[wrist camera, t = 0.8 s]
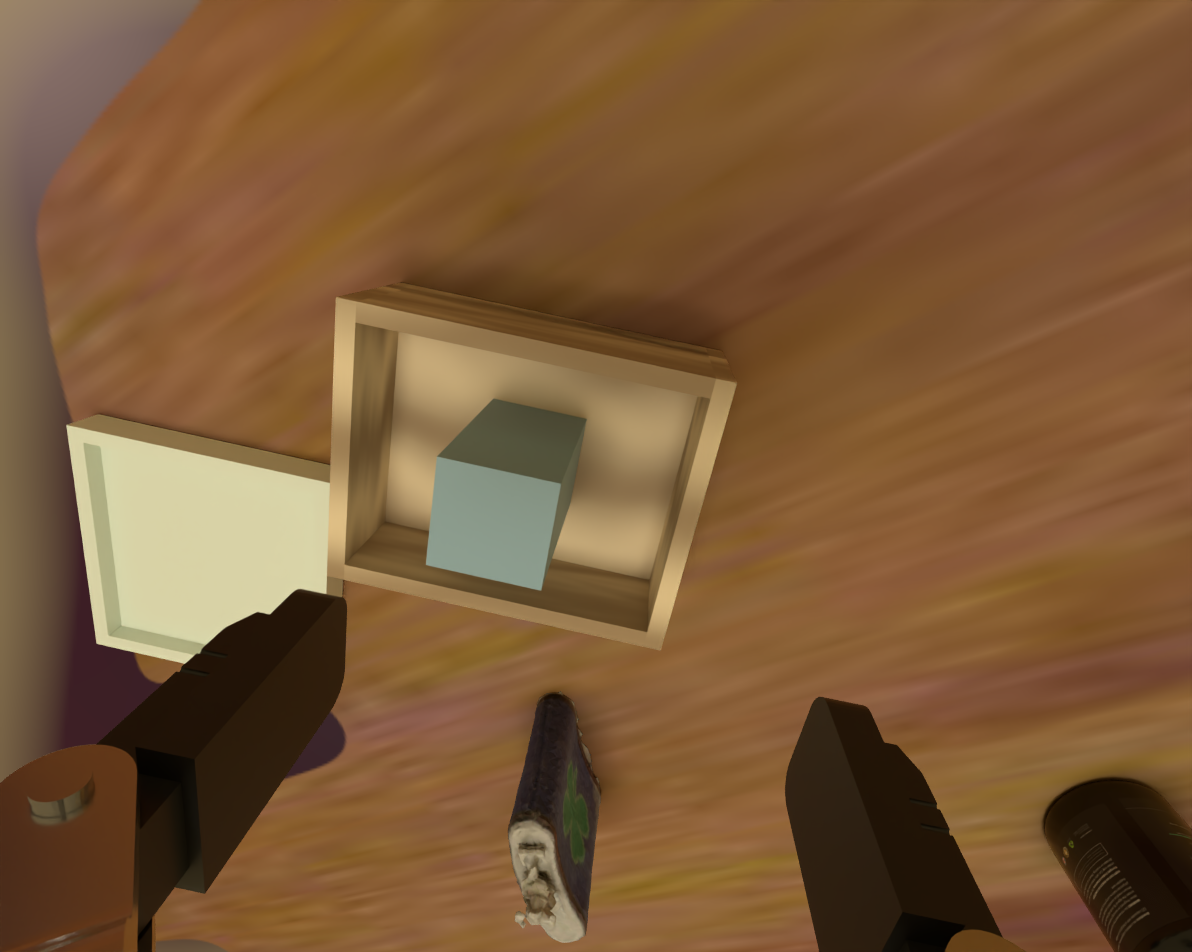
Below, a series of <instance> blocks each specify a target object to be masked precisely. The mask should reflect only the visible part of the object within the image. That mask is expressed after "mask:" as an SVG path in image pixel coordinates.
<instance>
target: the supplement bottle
mask: <svg viewBox="0 0 1192 952" xmlns="http://www.w3.org/2000/svg"><path fill="white" fill-rule="evenodd" d="M1045 835H1046V839H1047V842H1048V844H1049V846H1050V848H1051V850H1052V851H1053V853H1054V855H1055V856H1056V858H1057V859H1058V861H1059V863H1060V865H1061V866H1062V868H1063V870H1064V871H1065V873H1066V874H1067V876H1068V878H1069V879H1070V881H1071V882H1072V884H1073V886H1074V887H1075V889H1076V891H1077V892H1078V894H1079V895H1080V897H1081V899H1082V900H1083V902H1084V903H1085V905H1086V907H1087V908H1088V910H1089V912H1090V913H1091V915H1092V916H1093V918H1094V920H1095V921H1096V923H1097V924H1098V926H1099V928H1100V929H1101V931H1102V933H1103V934H1104V936H1105V937H1106V939H1107V941H1108V942H1109V944H1110V946H1111V947H1112V949H1113V950H1114V952H1192V829H1191V828H1190V827H1189V826H1188V825H1187V823H1186V822H1185V821H1184V820H1183V819H1182V818H1181V817H1180V815H1179V814H1178V813H1177V812H1176V811H1175V810H1174V809H1173V808H1172V807H1171V805H1170V804H1169V803H1168V802H1167V801H1166V800H1165V799H1164V798H1163V797H1162V796H1160V795H1159V794H1158V793H1156V792H1155V791H1153V790H1151V789H1149V788H1147V787H1145V786H1143V785H1140V784H1136V783H1132V782H1128V781H1119V780H1106V781H1098V782H1093V783H1089V784H1086V785H1083V786H1080V787H1078V788H1075V789H1073V790H1071V791H1070V792H1068V793H1066V794H1065V795H1063V796H1062V797H1061V798H1060V799H1059V800H1058V801H1057V802H1056V803H1055V804H1054V805H1053V806H1052V808H1051V809H1050V811H1049V813H1048V815H1047V818H1046V822H1045Z"/></svg>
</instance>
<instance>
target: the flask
mask: <svg viewBox="0 0 1192 952" xmlns="http://www.w3.org/2000/svg"><path fill="white" fill-rule="evenodd" d="M578 720H579V719H577V715H576V710H575V706H574V702H573V701H571V700H570V699H569V698H567V697H566V696H564V695H563V694H562V693H561V691H560V692H559V693H547V694H545V695H544V696H542V697H540V699H539V701H538V703H537V708H536V712H535V720H534V725H533V729H532V734H531V737H530V741H529V746H528V752H527V755H526V760H525V765H524V769H523V773H522V777H521V781H520V784H519V787H518V792H517V796H516V801H515V806H514V809H513V813H512V816H511V820H510V824H509V826H508V839H509V847H510V853H511V858H512V864H513V869H514V873H515V876H516V878H517V883H518V885H519V886H520V889H521V892H522V895H523V896H524V897H523V898H524V901H525V903H526V904H527V907H526V915H525V914H523V913H521V912H520V911H518V912H516V914H515V921H516V922H517V923H519V924H520V925H521V927H522V928H524V927H525V923H524V921H523V920H524V917H526V919H527V920H528V921H529V923H530V924H531V925H539V924H540V925H541V926H542V927H543V928H544V930H545V931H546V933H547V934H548V935H549V936H550V937H551V938H552V939H554V940H557V941H560V942H563V943H564V942H573V941H577V940H579V939H580V938H581V937H583V936H585V935H586V930H587V921H588V908H589V896H590V889H591V873H592V865H593V857H594V847H595V839H596V832H597V823H598V816H599V805H600V803H601V794H600V787H599V780H598V778H595V776H594V774H593V771H592V768H591V766H592V765H591V762H592V761H591V758H590V756H591V754H590V753H589V751H588V748H586V747H587V746H585V745H584V744H583V743H581V736H582V735H583V734H582V733H581V731H580V730H579V729H578V727H577V722H578ZM522 921H523V922H522Z"/></svg>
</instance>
